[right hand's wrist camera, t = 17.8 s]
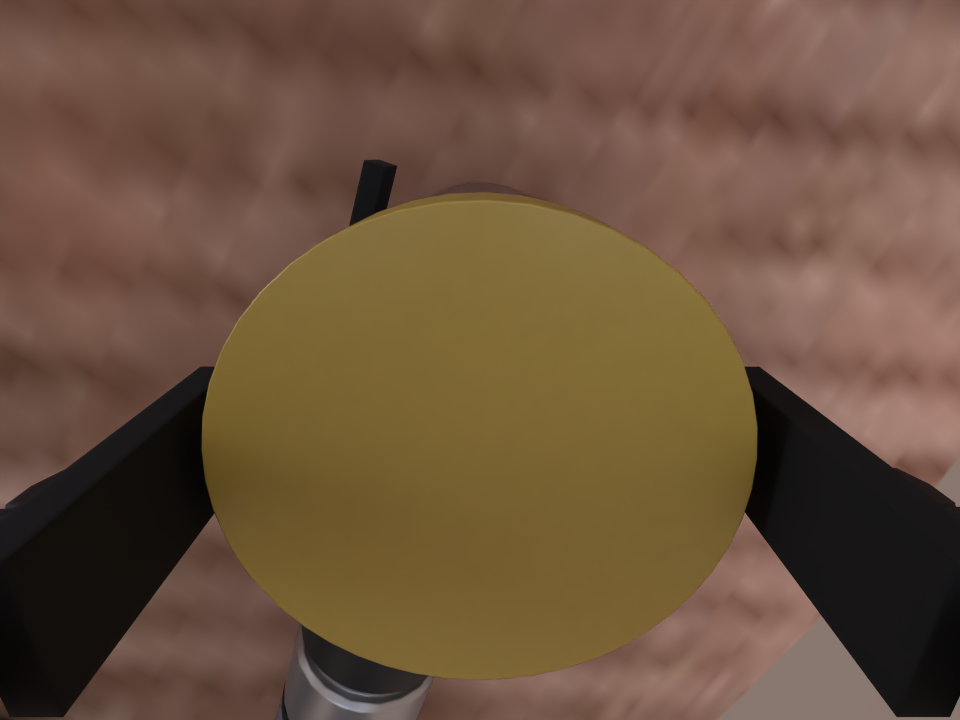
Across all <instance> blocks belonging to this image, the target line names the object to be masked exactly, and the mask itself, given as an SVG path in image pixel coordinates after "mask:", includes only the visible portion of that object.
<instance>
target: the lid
mask: <svg viewBox="0 0 960 720" xmlns="http://www.w3.org/2000/svg"><path fill="white" fill-rule="evenodd" d="M202 457H203V466H204V474H205V481H206V485H207V488H208V492H209V496H210V499H211V503H212V507H213V510H214V513H215V515H216V517H217V519H218V522H219V524H220V526H221V529H222V531H223V533H224V536H225V538H226V540H227V541H228V543H229V545H230V546H231V548H232V549H233V551H234V553H235V554H236V556H237V558H238V559H239V561H240V563H241V564H242V565H243V567H244V568H245V569H246V570H247V572H248V573H249V574H250V576H251V577H252V578H253V579H254V581H255V582H256V583H257V584H258V586H259V587H260V588H261V589H262V590H263V591H264V592H265V593H266V594H267V595H268V596H269V597H270V598H271V599H272V600H273V601H274V602H275V603H276V604H277V605H278V606H279V607H280V608H281V609H283V610H284V611H285V612H287V613H288V614H289V615H290V616H292V617H293V618H294V619H296V620H297V621H298V622H299V623H301V624H302V625H303V626H304V627H306V628H308V629H309V630H311V631H312V632H314V633H316V634H317V635H319V636H321V637H322V638H324V639H325V640H327V641H329V642H330V643H332V644H334V645H336V646H339V647H341V648H343V649H345V650H347V651H349V652H351V653H353V654H355V655H357V656H360V657H363V658H365V659H368V660H371V661H374V662H376V663H379V664H382V665H385V666H388V667H392V668H396V669H400V670H404V671H407V672H411V673H415V674H422V675H428V676H435V677H441V678H451V679H467V680H489V679H509V678H517V677H525V676H533V675H538V674H542V673H547V672H551V671H556V670H560V669H565V668H568V667H571V666H574V665H577V664H580V663H583V662H586V661H589V660H592V659H594V658H597V657H599V656H601V655H603V654H606V653H608V652H610V651H613V650H615V649H617V648H619V647H621V646H623V645H625V644H627V643H628V642H630V641H632V640H633V639H635V638H637V637H639V636H640V635H642V634H644V633H646V632H647V631H649V630H650V629H651V628H653V627H654V626H655V625H657V624H658V623H660V622H661V621H662V620H664V619H665V618H667V617H668V616H669V615H671V614H672V613H673V612H674V611H675V610H676V609H677V608H678V607H679V606H680V605H682V604H683V603H684V602H685V601H686V600H687V599H688V598H689V597H690V596H691V595H693V593H694V592H695V591H696V590H697V589H698V588H699V586H700V585H701V584H702V583H703V582H704V581H705V579H706V578H707V577H708V576H709V575H710V574H711V573H712V571H713V570H714V568H715V567H716V565H717V564H718V562H719V561H720V559H721V558H722V556H723V555H724V553H725V552H726V550H727V549H728V547H729V545H730V543H731V541H732V539H733V537H734V535H735V533H736V531H737V529H738V527H739V525H740V523H741V521H742V518H743V515H744V512H745V509H746V506H747V503H748V500H749V497H750V494H751V491H752V485H753V479H754V474H755V468H756V462H757V421H756V414H755V407H754V400H753V393H752V390H751V387H750V384H749V380H748V377H747V374H746V371H745V367H744V364H743V361H742V359H741V357H740V355H739V353H738V351H737V349H736V347H735V345H734V343H733V341H732V339H731V337H730V335H729V333H728V331H727V329H726V328H725V326H724V325H723V323H722V322H721V320H720V319H719V318H718V316H717V315H716V313H715V312H714V311H713V309H712V308H711V306H710V305H709V303H708V302H707V301H706V299H705V298H704V297H703V296H702V295H701V294H700V293H699V292H698V291H697V290H696V289H695V288H694V287H693V286H692V285H691V284H690V283H689V282H688V281H687V280H686V279H685V278H684V277H683V276H682V274H681V273H680V272H678V271H677V270H676V269H674V268H673V267H672V266H670V265H669V264H668V263H667V262H665V261H664V260H663V259H661V258H660V257H659V256H657V255H656V254H655V253H654V252H652V251H651V250H650V249H648V248H647V247H645V246H643V245H641V244H639V243H638V242H636V241H634V240H632V239H630V238H629V237H627V236H625V235H623V234H621V233H620V232H618V231H616V230H614V229H613V228H611V227H609V226H607V225H605V224H603V223H602V222H600V221H598V220H596V219H594V218H593V217H591V216H588V215H586V214H583V213H581V212H578V211H575V210H573V209H570V208H568V207H565V206H562V205H560V204H557V203H553V202H548V201H544V200H540V199H536V198H531V197H527V196H523V195H513V194H502V193H491V192H475V193H454V194H445V195H439V196H434V197H429V198H423V199H418V200H413V201H410V202H407V203H404V204H401V205H398V206H395V207H392V208H389V209H386V210H383V211H380V212H377V213H375V214H373V215H371V216H369V217H367V218H365V219H363V220H361V221H359V222H357V223H355V224H353V225H351V226H349V227H347V228H346V229H344V230H342V231H340V232H338V233H336V234H335V235H333V236H331V237H329V238H327V239H325V240H324V241H322V242H320V243H319V244H318V245H316V246H315V247H313V248H312V249H310V250H309V251H307V252H306V253H305V254H303V255H302V256H300V257H299V258H297V259H296V260H295V261H293V262H292V263H290V264H289V265H288V266H287V267H286V268H285V269H284V270H282V271H281V272H280V273H279V274H278V275H277V276H276V277H275V278H274V279H273V280H272V281H271V282H270V283H269V284H268V285H267V286H265V287H264V288H263V289H262V290H261V291H260V293H259V294H258V295H257V296H256V298H255V299H254V300H253V302H252V303H251V304H250V305H249V307H248V308H247V309H246V311H245V312H244V313H243V314H242V316H241V317H240V318H239V320H238V321H237V323H236V325H235V326H234V328H233V330H232V332H231V334H230V335H229V337H228V339H227V341H226V343H225V344H224V346H223V348H222V350H221V352H220V355H219V357H218V360H217V363H216V366H215V368H214V371H213V374H212V377H211V379H210V382H209V386H208V391H207V396H206V402H205V407H204V412H203V420H202Z"/></svg>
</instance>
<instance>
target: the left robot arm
mask: <svg viewBox="0 0 960 720" xmlns="http://www.w3.org/2000/svg"><path fill="white" fill-rule="evenodd" d="M396 169H397V166H396V165H393V164H390V163H387V162H384V161H381V160H364V163H363V168H362V172H361V177H360V181H359V185H358V190H357V194H356V199H355V203H354V208H353V212H352V216H351V221H350V225H349V226H351V225H353V224H355V223H357V222H359V221H361V220H363V219H365V218H367V217H369V216H371V215H373V214H375V213H377V212H380V211H383V210H386V209H387V205H388V201H389V197H390V193H391V189H392V185H393V181H394V177H395V173H396ZM434 677H435V676H428V675H422V674H415V673H411V672H407V671H404V670H400V669H396V668H392V667H388V666H385V665H382V664H379V663H376V662H374V661H371V660H368V659H365V658H363V657H360V656H357V655H355V654H353V653H351V652H349V651H347V650H345V649H343V648H341V647H339V646H336V645H334V644H332V643H330V642H329V641H327V640H325V639H324V638H322V637H321V636H319V635H317V634H316V633H314V632H312V631H311V630H309V629H308V628H306V627H304V626H303V625H302V624H301V625H300V628H299V630H298V633H297V637H296V641H295V645H294V649H293V653H292V657H291V661H290V665H289V669H288V672H287V678H286V681H285V685H284V690H283V696H282V699H281V702H280V706H279V709H278V712H277V715H276V719H275V720H416V719H417V717H418V714H419V712H420V710H421V707H422V705H423V703H424V700H425V698H426V695H427V693H428V691H429V688H430V686H431V684H432V681H433V679H434Z"/></svg>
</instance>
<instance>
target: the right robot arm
mask: <svg viewBox="0 0 960 720" xmlns="http://www.w3.org/2000/svg"><path fill="white" fill-rule="evenodd" d="M214 368H215V367H200V368H198V369H197V370H196V371H194V372H193V373H192V374H191V375H189V376H188V377H187V378H185V379H184V380H183V381H181V382H180V383H179V384H177V385H176V386H175V387H173V388H172V389H171V390H169V391H168V392H167V393H165V394H164V395H163V396H161V397H160V398H159V399H158V400H156V401H155V402H154V403H152V404H151V405H150V406H148V407H147V408H146V409H144V410H143V411H142V412H140V413H139V414H138V415H136V416H135V417H134V418H132V419H131V420H130V421H129V422H127V423H126V424H125V425H123V426H122V427H121V428H119V429H118V430H117V431H115V432H114V433H113V434H111V435H110V436H109V437H107V438H106V439H105V440H103V441H102V442H101V443H100V444H98V445H97V446H96V447H94V448H93V449H92V450H90V451H89V452H88V453H86V454H85V455H84V456H82V457H81V458H80V459H78V460H77V461H76V462H74V463H73V464H72V465H70V466H69V467H68V468H67V469H65V470H63V471H61V472H59V473H57V474H55V475H53V476H51V477H49V478H47V479H45V480H43V481H41V482H39V483H37V484H35V485H33V486H31V487H29V488H28V489H27V490H25V491H24V492H23V493H21V494H20V495H19V496H17V497H16V498H14V499H13V500H12V501H10V502H9V503H8V504H6V507H5V509H0V697H1V699H2V701H3V703H4V705H5V707H6V709H7V712H8V714H9V716H10V717H64V715H65V714H66V713H67V711H68V710H69V709H70V707H71V706H72V704H73V703H74V702H75V700H76V699H77V698H78V696H79V695H80V694H81V692H82V691H83V690H84V688H85V687H86V686H87V684H88V683H89V682H90V680H91V679H92V678H93V676H94V675H95V673H96V672H97V671H98V669H99V668H100V667H101V665H102V664H103V663H104V661H105V660H106V659H107V657H108V656H109V655H110V653H111V652H112V651H113V649H114V648H115V646H116V645H117V644H118V642H119V641H120V640H121V638H122V637H123V636H124V634H125V633H126V632H127V630H128V629H129V628H130V626H131V625H132V624H133V622H134V621H135V620H136V618H137V617H138V615H139V614H140V613H141V611H142V610H143V609H144V607H145V606H146V605H147V603H148V602H149V601H150V599H151V598H152V597H153V595H154V594H155V593H156V591H157V590H158V589H159V587H160V586H161V584H162V583H163V582H164V580H165V579H166V578H167V576H168V575H169V574H170V572H171V571H172V570H173V568H174V567H175V566H176V564H177V563H178V562H179V560H180V559H181V558H182V556H183V555H184V553H185V552H186V551H187V549H188V548H189V547H190V545H191V544H192V543H193V541H194V540H195V539H196V537H197V536H198V535H199V533H200V532H201V531H202V529H203V528H204V526H205V525H206V524H207V522H208V521H209V520H210V518H211V517H212V516H213V514H214V510H213V507H212V503H211V499H210V496H209V492H208V488H207V485H206V481H205V474H204V466H203V457H202V420H203V412H204V407H205V402H206V396H207V391H208V386H209V382H210V379H211V377H212V374H213V371H214ZM745 371H746V374H747V377H748V380H749V384H750V387H751V390H752V393H753V400H754V407H755V414H756V421H757V462H756V468H755V474H754V479H753V485H752V491H751V494H750V497H749V500H748V503H747V506H746V509H745V513H746V514H747V516H748V517H749V518H750V520H751V521H752V522H753V524H754V525H755V526H756V528H757V529H758V531H759V532H760V533H761V535H762V536H763V537H764V539H765V540H766V541H767V543H768V544H769V545H770V547H771V548H772V549H773V551H774V552H775V553H776V555H777V556H778V558H779V559H780V560H781V562H782V563H783V564H784V566H785V567H786V568H787V570H788V571H789V572H790V574H791V575H792V576H793V578H794V579H795V580H796V582H797V583H798V584H799V586H800V587H801V589H802V590H803V591H804V593H805V594H806V595H807V597H808V598H809V599H810V601H811V602H812V603H813V605H814V606H815V607H816V609H817V610H818V611H819V613H820V614H821V615H822V617H823V618H824V619H825V621H826V622H827V624H828V625H829V626H830V628H831V629H832V630H833V632H834V633H835V634H836V636H837V637H838V638H839V640H840V641H841V642H842V644H843V645H844V647H845V648H846V649H847V650H848V652H849V653H850V655H851V656H852V657H853V659H854V660H855V661H856V663H857V664H858V665H859V667H860V668H861V669H862V671H863V672H864V673H865V675H866V676H867V678H868V679H869V680H870V682H871V683H872V684H873V686H874V687H875V688H876V690H877V691H878V692H879V694H880V695H881V696H882V698H883V699H884V700H885V702H886V703H887V704H888V706H889V707H890V708H891V710H892V711H893V713H894V714H895V715H896V717H950V716H951V714H952V711H953V709H954V707H955V705H956V703H957V701H958V699H959V697H960V507H956V506H955V502H953V501H952V500H950V499H949V498H948V497H946V496H945V495H944V494H942V493H941V492H939V491H938V490H937V489H935V488H934V487H933V486H931V485H930V484H928V483H926V482H924V481H922V480H920V479H918V478H916V477H914V476H912V475H910V474H908V473H906V472H903V471H901V470H899V469H897V468H892V467H891V466H890V465H888V464H887V463H886V462H884V461H883V460H882V459H880V458H879V457H878V456H876V455H875V454H874V453H872V452H871V451H870V450H868V449H867V448H866V447H864V446H863V445H862V444H860V443H859V442H858V441H857V440H855V439H854V438H853V437H851V436H850V435H849V434H847V433H846V432H845V431H843V430H842V429H841V428H839V427H838V426H837V425H835V424H834V423H833V422H831V421H830V420H829V419H828V418H826V417H825V416H824V415H822V414H821V413H820V412H818V411H817V410H816V409H814V408H813V407H812V406H810V405H809V404H808V403H806V402H805V401H804V400H802V399H801V398H800V397H799V396H797V395H796V394H795V393H793V392H792V391H791V390H789V389H788V388H787V387H785V386H784V385H783V384H781V383H780V382H779V381H777V380H776V379H775V378H773V377H772V376H771V375H769V374H768V373H767V372H766V371H764V370H763V369H762V368H760V367H745Z"/></svg>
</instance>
